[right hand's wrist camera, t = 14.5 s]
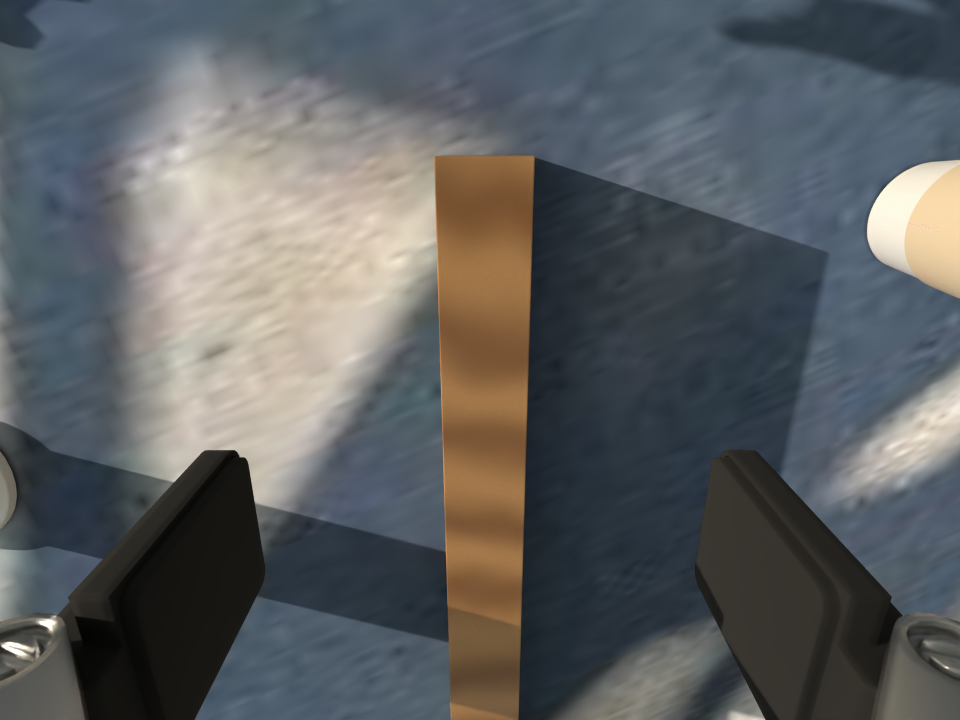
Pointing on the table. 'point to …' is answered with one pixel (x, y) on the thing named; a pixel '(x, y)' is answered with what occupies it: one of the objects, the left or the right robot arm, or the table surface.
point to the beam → (484, 418)
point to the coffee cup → (921, 224)
